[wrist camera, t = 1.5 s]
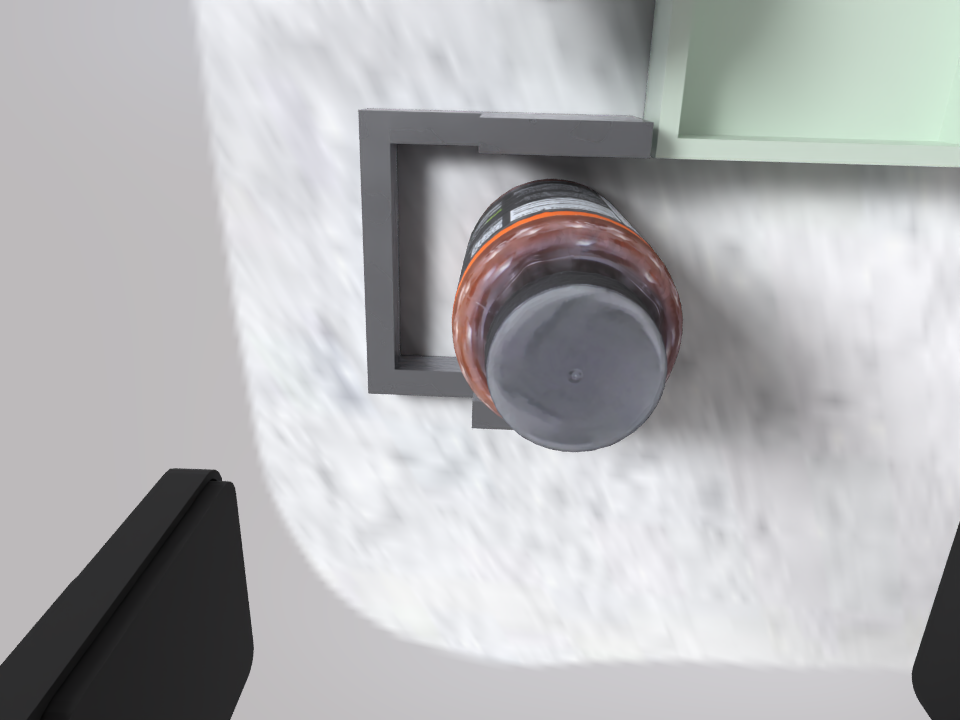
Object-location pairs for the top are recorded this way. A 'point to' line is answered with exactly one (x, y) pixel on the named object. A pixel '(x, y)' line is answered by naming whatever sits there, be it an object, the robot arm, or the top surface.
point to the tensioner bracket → (381, 218)
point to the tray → (806, 81)
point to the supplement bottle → (564, 317)
